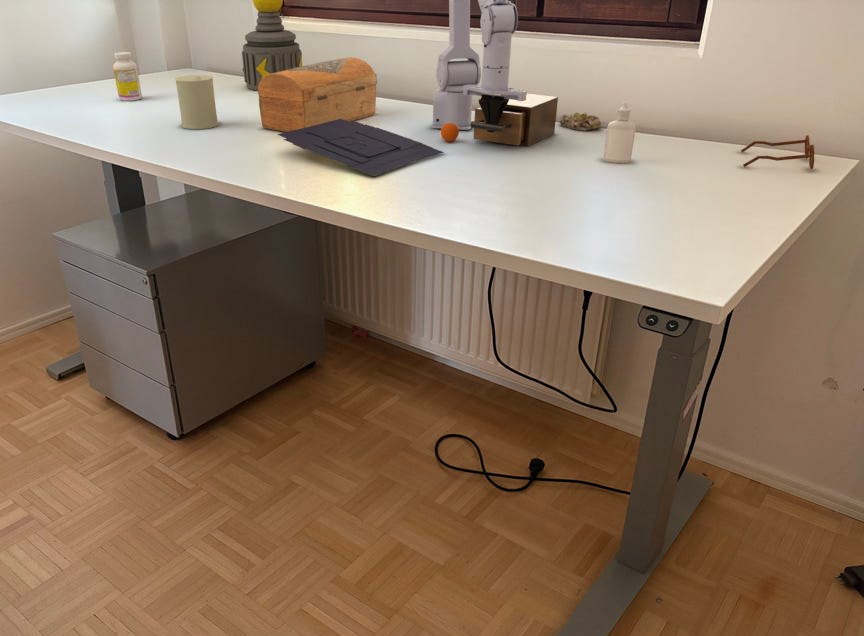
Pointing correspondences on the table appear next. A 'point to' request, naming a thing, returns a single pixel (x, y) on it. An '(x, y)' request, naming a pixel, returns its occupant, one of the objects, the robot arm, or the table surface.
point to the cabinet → (537, 116)
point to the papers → (360, 145)
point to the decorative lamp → (268, 45)
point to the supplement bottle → (126, 77)
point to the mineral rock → (580, 121)
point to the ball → (449, 132)
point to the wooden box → (317, 94)
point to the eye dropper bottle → (620, 138)
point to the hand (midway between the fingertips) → (491, 131)
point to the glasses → (808, 149)
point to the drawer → (501, 127)
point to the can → (197, 101)
